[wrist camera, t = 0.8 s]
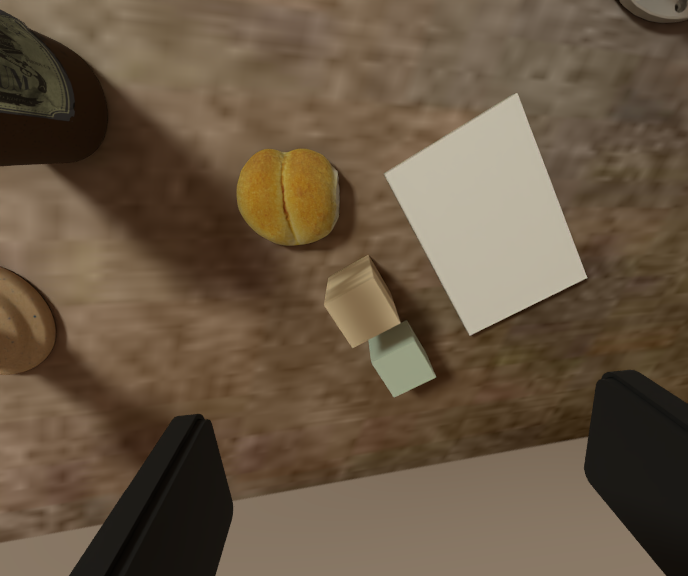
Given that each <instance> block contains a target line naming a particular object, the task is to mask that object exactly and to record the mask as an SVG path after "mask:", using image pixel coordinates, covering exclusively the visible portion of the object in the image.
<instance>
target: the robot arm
mask: <svg viewBox="0 0 688 576" xmlns="http://www.w3.org/2000/svg"><path fill="white" fill-rule="evenodd" d="M619 1H620V3H621V4H622V5H623V6H624V7H625V8H627V9H628V10H629V11H630V12H632V13H633V14H634V15H636V16H638V17H641V18H643V19H645V20H647V21H653V22H659V23H672V22H681V21H684V20H688V0H619ZM584 470H585V474H586V477H587V479H588V481H589V483H590V484H591V485H592V486H593V488H594V489H595V490H596V491H597V492H598V494H599V495H600V496H601V497H602V499H603V500H604V501H605V502H606V503H607V505H608V506H609V507H610V508H611V510H612V511H613V512H614V513H615V514H616V516H617V517H618V518H619V519H620V520H621V522H622V523H623V524H624V525H625V526H626V528H627V529H628V530H629V531H630V532H631V534H632V535H633V536H634V537H635V539H636V540H637V541H638V542H639V543H640V545H641V546H642V547H643V548H644V549H645V551H646V552H647V553H648V554H649V556H650V557H651V558H652V559H653V560H654V562H655V563H656V564H657V565H658V566H659V567H660V569H661V570H662V571H663V572H664V574H665V575H666V576H688V404H687V403H686V402H684V401H682V400H681V399H679V398H678V397H676V396H675V395H673V394H672V393H670V392H669V391H667V390H666V389H664V388H662V387H661V386H659V385H658V384H656V383H655V382H653V381H652V380H650V379H649V378H647V377H646V376H644V375H642V374H641V373H639V372H637V371H635V370H624V371H614V372H607V373H605V374H604V375H603V376H602V378H601V379H600V380H598V382H597V384H596V389H595V396H594V402H593V409H592V416H591V423H590V430H589V437H588V444H587V450H586V457H585V464H584ZM232 516H233V502H232V498H231V494H230V490H229V486H228V483H227V479H226V475H225V471H224V468H223V464H222V460H221V456H220V453H219V449H218V445H217V441H216V438H215V434H214V430H213V426H212V423H211V421H210V420H208V419H206V420H205V419H204V417H203V416H202V415H201V414H193V415H184V416H177V417H175V418H174V419H173V420H172V421H171V423H170V424H169V426H168V427H167V429H166V430H165V432H164V433H163V435H162V436H161V438H160V439H159V441H158V442H157V444H156V445H155V447H154V448H153V450H152V451H151V453H150V455H149V456H148V458H147V459H146V461H145V462H144V464H143V465H142V467H141V468H140V470H139V471H138V473H137V474H136V476H135V477H134V479H133V480H132V482H131V483H130V485H129V486H128V488H127V489H126V490H125V492H124V493H123V495H122V496H121V498H120V499H119V501H118V502H117V504H116V505H115V507H114V508H113V510H112V512H111V513H110V515H109V516H108V518H107V519H106V521H105V522H104V524H103V525H102V527H101V528H100V530H99V531H98V533H97V534H96V536H95V537H94V539H93V540H92V542H91V543H90V545H89V546H88V548H87V549H86V551H85V553H84V554H83V555H82V557H81V558H80V560H79V562H78V563H77V564H76V566H75V567H74V569H73V571H72V572H71V574H70V575H69V576H215V575H216V571H217V568H218V565H219V561H220V558H221V554H222V551H223V547H224V544H225V541H226V537H227V534H228V531H229V527H230V524H231V521H232Z"/></svg>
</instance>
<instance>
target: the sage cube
mask: <svg viewBox="0 0 688 576" xmlns="http://www.w3.org/2000/svg"><path fill="white" fill-rule="evenodd" d="M369 348H370V356H371V363H372V365H373V366H374V368H375V369H376V371H377V372H378V374H379V375H380V377H381V378H382V380H383V381H384V383H385V384H386V386H387V387H388V389H389V390H390V392H391V394H392V395H393V397H396V396H398V395H400V394H402V393H404V392H407V391H409V390H411V389H413V388H415V387H417V386H419V385H421V384H423V383H425V382H428V381H430V380H432V379H434V378H436V375H435V373H434V371H433V368H432V366H431V363H430V361H429V359H428V356H427V354H426V352H425V350H424V348H423V347H422V345H421V343H420V342H419V340H418V338H417V337H416V335H415V333H414V331H413V330H412V328H411V326H410V325H409V323H408V321H407V320H406V321H404V322H402V323H400V324H398V325H396V326H394V327H392V328H391V329H389V330H387V331H385V332H383V333H381V334H379V335H377V336H375V337H373V338H371V339H369Z"/></svg>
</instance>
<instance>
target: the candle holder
mask: <svg viewBox="0 0 688 576" xmlns="http://www.w3.org/2000/svg"><path fill="white" fill-rule="evenodd" d="M55 338H56V328H55V322H54V319H53V316H52V313H51V311H50V309H49V307H48V305H47V304H46V302H45V301H44V299H43V298H42V296H41V295H40V294H39V293H38V292H37V291H36V290H35V289H34V288H33V287H32V286H31V285H30V284H29V283H28V282H26V281H25V280H24V279H22V278H21V277H19V276H18V275H16V274H14V273H13V272H11V271H9V270H7V269H4V268H2V267H0V375H10V374H17V373H21V372H25V371H28V370H30V369H32V368H34V367H35V366H37V365H39V364H40V363H41V362H42V361H43V360H45V359H46V357H47V356H48V355H49V354H50V352H51V350H52V348H53V346H54V343H55Z"/></svg>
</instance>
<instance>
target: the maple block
mask: <svg viewBox="0 0 688 576" xmlns="http://www.w3.org/2000/svg"><path fill="white" fill-rule="evenodd" d="M324 306H325V307H326V309H327V310H328V312H329V313H330V315H331V316H332V318H333V319H334V321H335V322H336V324H337V325H338V327H339V328H340V330H341V331H342V333H343V334H344V336H345V337H346V339H347V340H348V342H349V343H350V345H351V346H352V348H354V347H356V346H358V345H360V344H362V343H364V342H365V341H367V340H369V339H371V338H373V337H375V336H377V335H379V334H381V333H383V332H385V331H387V330H389V329H391V328H392V327H394V326H396V325H398V324H400V320H399V316H398V313H397V310H396V307H395V304H394V301H393V298H392V295H391V292H390V291H389V289H388V287H387V286H386V284H385V282H384V280H383V279H382V277H381V275H380V274H379V272H378V270H377V269H376V267H375V265H374V263H373V262H372V260H371V258H370V257H369V255H367V256H365V257H364V258H362V259H360V260H358V261H356V262H355V263H353V264H351V265H349V266H348V267H346V268H344V269H342V270H341V271H339V272H337V273H335V274H334V275H332V276H330V277H328V283H327V289H326V296H325V302H324Z"/></svg>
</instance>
